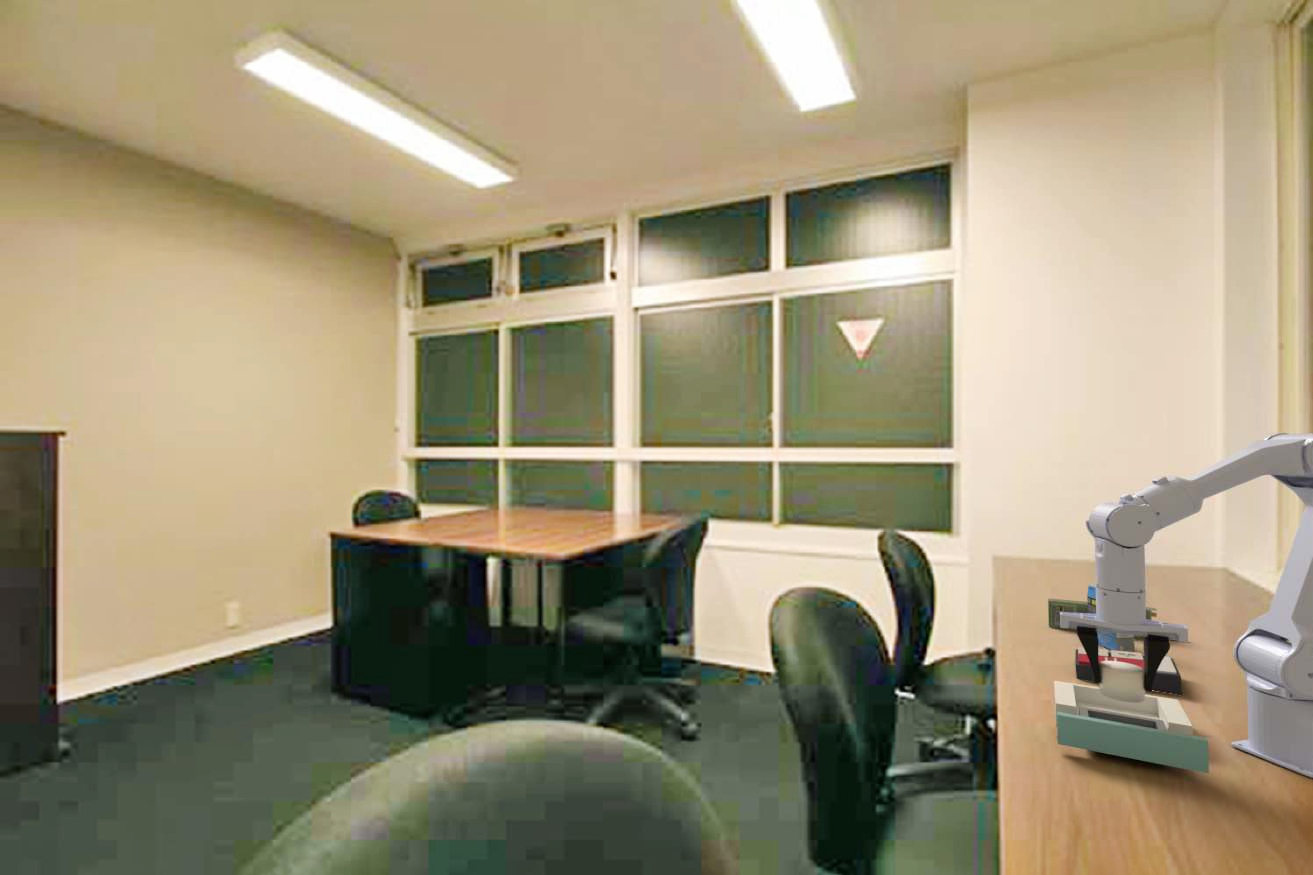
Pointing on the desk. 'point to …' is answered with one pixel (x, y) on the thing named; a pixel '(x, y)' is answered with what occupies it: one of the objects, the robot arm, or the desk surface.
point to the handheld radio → (1076, 611)
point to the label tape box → (1108, 638)
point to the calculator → (1165, 675)
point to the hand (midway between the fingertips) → (1121, 685)
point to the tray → (1132, 738)
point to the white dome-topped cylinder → (1122, 681)
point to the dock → (1120, 705)
